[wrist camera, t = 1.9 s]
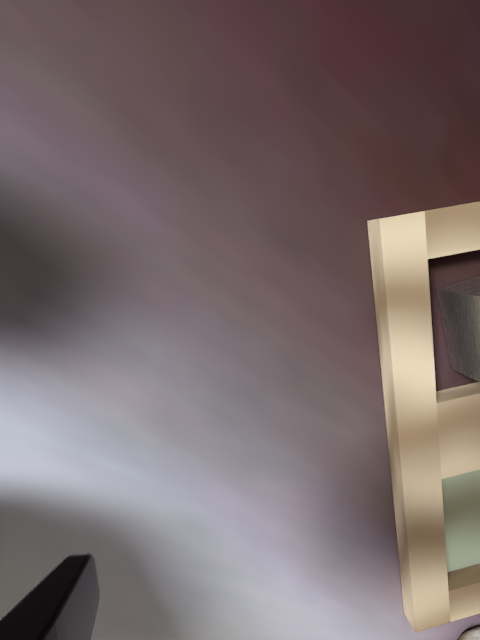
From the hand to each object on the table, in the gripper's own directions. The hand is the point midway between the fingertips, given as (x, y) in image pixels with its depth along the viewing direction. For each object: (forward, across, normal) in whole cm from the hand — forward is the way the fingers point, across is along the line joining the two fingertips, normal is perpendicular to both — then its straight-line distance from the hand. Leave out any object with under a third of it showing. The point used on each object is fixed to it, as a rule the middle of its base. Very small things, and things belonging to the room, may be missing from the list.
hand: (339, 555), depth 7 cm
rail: (+14, -13, +5) cm, 19 cm away
